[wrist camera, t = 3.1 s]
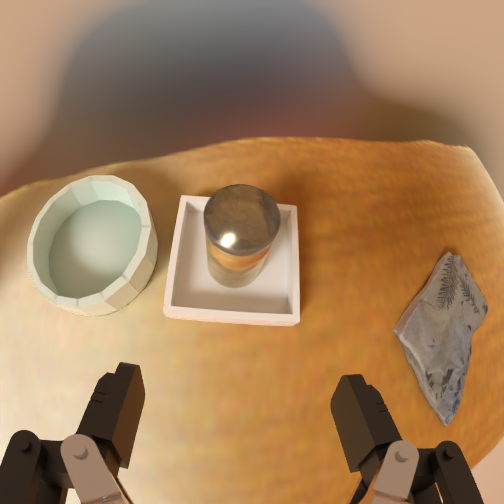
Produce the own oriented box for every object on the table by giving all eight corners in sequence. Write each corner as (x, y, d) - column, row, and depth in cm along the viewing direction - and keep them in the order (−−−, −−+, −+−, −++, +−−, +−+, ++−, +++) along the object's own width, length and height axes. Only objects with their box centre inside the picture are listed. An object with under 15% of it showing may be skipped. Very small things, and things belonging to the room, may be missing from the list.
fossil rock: (441, 249, 31) (452, 241, 29) (492, 323, 28) (504, 319, 26) (375, 348, 25) (387, 345, 23) (441, 425, 22) (454, 427, 20)
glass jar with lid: (204, 286, 25) (198, 247, 17) (209, 235, 27) (208, 181, 19) (260, 290, 25) (281, 254, 18) (262, 239, 27) (280, 188, 20)
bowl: (35, 305, 22) (13, 294, 18) (66, 196, 27) (52, 176, 24) (147, 326, 23) (135, 318, 20) (168, 199, 29) (163, 176, 25)
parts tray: (167, 317, 24) (162, 312, 22) (183, 208, 28) (181, 195, 26) (292, 326, 25) (299, 321, 23) (290, 218, 29) (296, 205, 27)
